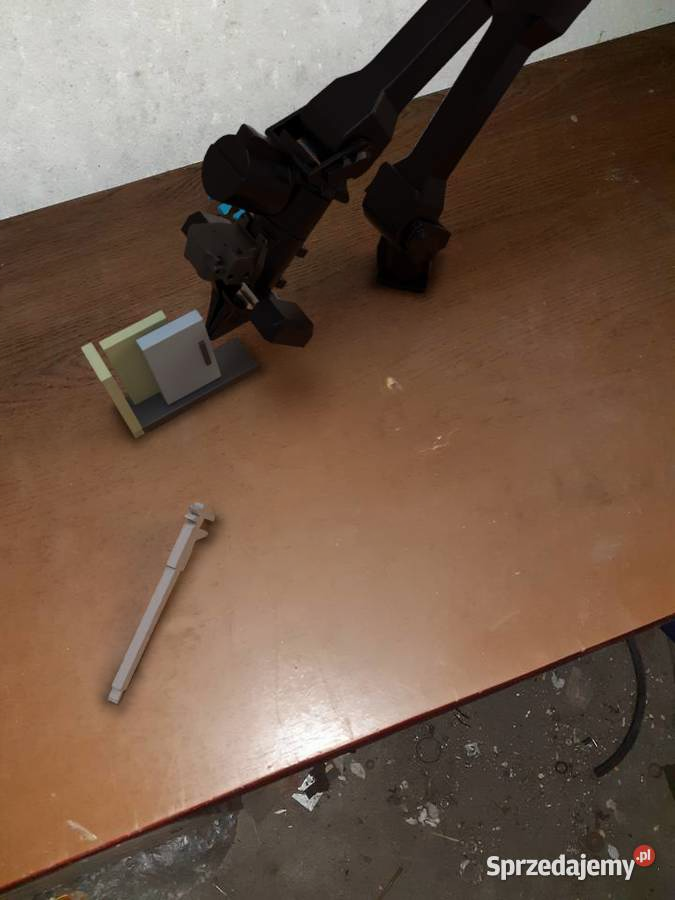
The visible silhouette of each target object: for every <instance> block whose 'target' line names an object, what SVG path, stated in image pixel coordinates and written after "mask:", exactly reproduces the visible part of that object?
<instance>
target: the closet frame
mask: <svg viewBox="0 0 675 900" xmlns="http://www.w3.org/2000/svg"><path fill="white" fill-rule="evenodd" d="M168 323H170V322H169V320H168V317H167V315H166V314H165V313H164V311H163V310H162V309H161V310H158V311H157V312H154V313H153V314H151V315H149V316H147V317H145V318H143V319H141V320H139V321H137V322H135V323H133V324H131V325H129V326H127V327H125V328H124V329H121V330H119V331H117V332H116V333H113V334H111V335H109V336H107V337H106V338H104V339H102V340H100V341H98V344H99V346H100V347H101V349H102V351H103V353H104V355H105V356H106V358H107V360H108V362H109V364H110V365H111V367H112V369H113V370H114V372H115V374H116V376H117V377H118V379H119V381H120V383H121V384H122V386H123V388H124V390H125V392H126V393H127V395H125V396H124V394H123V392H122V390H121V389H120V387H119V385H118V384H117V382H116V380H115V378H114V377H113V375H112V373H111V372H110V370H109V369H108V367H107V365H106V364H105V361H104V360H103V358H102V357H101V355H100V354H99V352H98V350H97V349H96V347H95V346H94V344H93V343H92V342H89V343H87V344H85V345H83V346H81V347H80V349H81V350H82V353H83V354H84V356H85V358H86V359H87V361H88V363H89V364H90V366H91V368H92V369H93V371H94V373H95V374H96V376H97V377H98V379H99V381H100V382H101V385H102V386H103V387H104V389H105V390H106V393H107V394H108V395H109V397H110V399H111V401H112V402H113V404H114V405H115V407H116V409H117V411H118V412H119V414H120V415H121V417H122V418H123V420H124V421H125V423H126V425H127V426H128V428H129V430H130V431H131V433H132V436H134V438H135V439H137V438H139V437H141V436H143V435H145V434H146V433H149V432H150V431H152V430H153V429H155V428H158V427H159V426H161V425H162V424H165V423H166V422H168V421H170V420H172V419H173V418H175V417H177V416H179V415H181V414H183V413H185V412H186V411H188V410H190V409H192V408H194V407H195V406H197V405H199V404H200V403H203V402H204V401H207V400H208V399H209V398H211V397H213V396H215V395H217V394H219V393H220V392H222V391H224V390H226V389H228V388H230V387H231V386H233V385H235V384H237V383H238V382H240V381H242V380H244V379H246V378H248V377H249V376H251V375H252V374H253V375H254V374H255V373H257V372H259V370H260V369H259V364H258V363H257V362H256V360H255V359H254V358H253V356H252V355H251V354H250V352H249V351H248V349H247V348H246V347H245V346H244V344H243V342H241V340H240V339H239V337H238V336H236V337H235V336H234V338H232V339H230V340H228V341H226V342H225V343H222V344H220V345H219V346H217V347H215V348H212V349H213V352H214V355H215V358H216V361H217V364H218V367H219V370H220V373H221V377H219V378H217V379H215V380H214V381H212V382H210V383H208V384H206V385H204V386H203V387H201V388H199V389H197V390H195V391H193V392H192V393H190V394H188V395H186V396H184V397H183V398H181V399H179V400H177V401H175V402H173V403H172V404H170V405H168V404H167V402H166V401H165V399H164V398H163V396H162V394H161V392H160V390H159V388H158V386H157V384H156V382H155V380H154V378H153V376H152V373H151V371H150V369H149V367H148V365H147V363H146V361H145V359H144V357H143V355H142V353H141V351H140V349H139V347H138V344H137V342H136V340H137V339H139V338H141V337H143V336H145V335H147V334H149V333H151V332H153V331H155V330H157V329H158V328H160V327H162V326H164V325H166V324H168Z"/></svg>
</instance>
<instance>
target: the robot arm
mask: <svg viewBox="0 0 675 900" xmlns="http://www.w3.org/2000/svg"><path fill="white" fill-rule="evenodd" d="M592 1H593V0H425V2H424V3H423V4H422V5H421V6H420V7H419V9H418V10H416V12H414V13H413V14H412V16H411V17H410V18H409V19H408V20H407V21H406V22H405V24H403V26H402V27H401V28H400V29H399V30H398V31H397V32H395V34H394V36H393V37H391V39H390V40H388V42H386V44H385V45H384V46H383V47H382V48H381V49H380V50H379V52H377V54H376V55H375V56H374V57H373V58H372V59H371V60H370V61H369V62H368V63H367V64H366V65H365V66H363V67H362V68H361V69H359V70H356V71H353V72H350V73H347V74H345V75H342V76H338V77H336V78H335V79H333V80H332V81H331V82H330V83H328V85H326V86H324V88H322V90H320V91H319V92H318V93H317V94H316V95H314V96H313V97H312V98H311V99H310V100H309V101H308V102H307V103H306V104H304V105H303V106H301V107H299V108H298V109H296V110H294V111H293V112H291V113H289V114H288V115H287V116H285V117H284V118H282V119H280V120H278V121H276V122H275V123H273V124H272V125H269V126H268V127H267V128H265V130H264V134H262V133H260V132H259V131H258V130H257V129H255V128H254V127H253V126H251V125H248V124H247V123H244V122H243V123H242V124H240V126H239V128H238V130H237V132H236V133H235V134H234V133H228V134H224V135H222V136H219V138H217V140H215V142H214V143H210V145H209V146H208V148H207V149H206V152H205V154H204V156H203V160H202V164H201V172H200V174H201V184H202V187H203V190H204V192H205V194H206V195H207V197H208V196H209V197H210V198H211V199H213V200H212V201H216V202H218V203H221V204H227V205H230V206H231V207H233V208H236V209H238V210H240V209H241V210H244V213H241V215H240V216H239V218H238V220H237V221H236V220H234V221H233V223H232V222H231V221H230V220H229V219H227V218H224V217H221V216H217V215H214V214H212V213H208V212H206V211H201V210H198V211H195V212H193V213H190V214H189V215H188V216H187V218H186V220H184V223H183V225H182V227H181V229H180V231H181V232H182V233H183V235H184V236H185V238H186V242H185V247H184V251H183V257H184V259H185V260H186V261H188V262H189V263H190V265H191V266H192V267H193V268H194V270H195V273H196V274H197V276H198V277H199V278H200V279H202V280H203V281H206V282H210V284H211V294H210V301H209V305H208V306H209V307H208V310H207V316H206V321H205V327H206V330H207V333H208V336H209V339H210V342H214V341H216V340H218V339H220V338H221V337H223V336H225V335H227V334H229V333H230V332H232V331H234V330H235V329H237V328H239V327H241V326H243V325H244V324H246V323H249V322H250V323H251V324H252V325H253V327H254V328H255V329H256V331H257V332H258V334H259V335H260V337H262V339H263V340H265V341H266V342H267V343H269V344H270V345H277V346H287V347H292V348H293V347H294V348H301V349H305V348H306V346H307V345H308V344H309V342H310V341H311V340H312V338H313V337H314V335H315V324H314V322H313V321H312V320H311V318H310V317H309V316H308V315H307V314H306V312H305V311H304V310H303V309H302V308H301V307H300V305H299V304H298V303H297V302H296V301H295V302H294V301H290V300H285V299H281V298H280V296H279V295H278V294H277V293H276V291H274V288H275V289H279V290H283V289H284V288H285V286H286V285H287V283H288V281H287V280H286V278H285V277H284V274H285V272H286V271H287V270H288V268H289V267H290V265H291V263H292V262H293V260H294V259H295V258H296V257H298V258H301V259H304V258H305V257H306V255H308V253H309V252H310V250H309V249H308V248H307V246H306V245H305V243H306V241H307V240H308V238H309V236H310V235H311V234H312V232H313V230H314V229H315V228H316V226H317V225H318V223H319V222H320V220H321V219H322V217H323V216H324V214H325V213H326V211H327V210H328V208H329V207H330V205H331V204H332V202H333V201H337V202H339V203H341V204H344V205H347V204H349V202H350V194H349V189H348V180H350V179H352V180H357V179H359V178H360V177H362V176H363V175H365V173H367V172H368V171H369V170H370V169H371V167H372V166H373V165H374V164H375V162H376V161H377V160H378V159H379V157H381V155H382V153H384V151H385V150H386V149H387V147H388V146H389V144H390V143H391V142H392V140H393V138H394V137H393V136H394V134H395V130H396V126H397V123H398V119H399V116H400V115H401V114H402V112H403V111H404V109H405V108H406V107H407V106H408V105H409V103H411V101H412V100H413V99H415V97H416V96H417V95H418V94H419V93H420V92H422V90H423V89H424V88H425V87H426V86H427V85H428V84H429V83H430V81H432V79H434V77H435V76H436V75H437V74H438V73H439V72H440V71H441V70H442V69H443V68H444V67H445V66H446V65H447V64H448V63H449V62H450V61H451V60H452V59H453V57H454V56H455V55H456V54H458V53H459V51H460V50H461V49H462V48H463V47H464V46H465V45H466V44H467V43H468V42H469V41H470V40H471V39H472V37H473V36H475V34H476V33H477V32H479V30H480V29H481V28H482V27H483V26H484V25H485V24H486V23H487V22H488V21H489V20H491V21H490V23H489V25H488V27H487V28H486V30H485V32H484V33H483V36H481V38H480V40H479V41H478V43H477V45H476V46H475V48H474V50H473V51H472V53H471V55H470V56H469V58H468V60H467V61H466V63H465V64H464V66H463V68H462V69H461V70H460V71H459V74H458V75H457V77H456V79H455V80H454V82H453V84H452V85H451V86H450V89H449V90H448V91H447V93H446V94H445V96H444V98H443V100H441V101H442V102H441V103H440V105H439V106H438V108H437V109H436V111H435V112H434V114H433V116H431V117H432V118H431V119H430V121H429V122H428V124H427V126H426V127H425V129H424V130H423V132H422V133H421V135H420V137H419V139H417V142H416V143H415V145H414V146H413V148H412V150H411V151H410V153H409V154H408V155H407V156H404V157H402V158H401V159H399V160H396V161H395V162H393V163H391V162H389V161H388V160H386V161H383V163H381V164H380V165H379V167H378V169H377V171H376V173H375V175H374V177H373V178H372V180H371V181H370V183H369V184H368V185H367V186H366V187H365V188H364V189H363V191H364V192H365V195H364V197H363V198H362V203H361V206H362V211H363V215H364V217H365V219H366V220H367V221H368V222H369V223H370V224H371V225H372V226H373V227H374V228H375V229H376V230H377V231H378V233H380V236H379V238H378V241H377V244H376V262H375V263H376V268H377V269H378V272H377V275H376V283H377V284H379V285H385V286H388V287H393V288H398V289H404V290H407V291H408V290H409V291H413V292H418V293H426V292H427V290H428V286H429V283H430V279H431V276H432V273H433V270H434V266H435V263H436V259H437V254H439V252H440V251H442V250H444V249H445V248H447V245H448V244H449V241H450V239H451V237H452V232H451V231H450V230H449V229H448V228H447V227H446V226H445V225H444V224H443V223H442V222H440V220H439V219H440V217H441V215H442V214H443V212H444V207H445V199H446V191H447V181H448V180H449V178H450V177H451V175H452V173H453V172H454V170H455V169H456V167H457V166H458V164H459V163H460V161H461V160H462V158H463V157H464V155H465V153H466V152H467V151H468V149H469V148H470V146H471V145H472V143H473V142H474V140H475V139H476V137H477V136H478V134H479V133H480V131H481V130H482V128H483V127H484V125H485V124H486V122H487V121H488V120H489V118H490V116H491V115H492V113H493V112H494V111H495V108H496V107H497V106H498V104H499V102H500V101H501V100H502V98H503V97H504V95H505V94H506V93H507V90H508V89H509V88H510V86H511V85H512V84H513V82H514V80H515V79H516V77H517V76H518V75H519V73H520V71H521V69H522V68H523V67H524V65H525V64H526V62H527V61H528V59H529V58H530V57H531V56H532V54H533V53H534V52H536V51H538V50H540V49H541V48H543V47H544V46H547V45H548V44H550V43H552V42H553V41H555V40H557V39H559V38H561V37H562V36H564V35H565V34H566V32H567V31H568V30H569V28H570V27H571V26H572V25H573V24H574V22H575V21H576V20H577V19H578V17H579V16H580V15H581V14H582V12H583V11H584V10H586V8H587V7H588V6H589V5H590V4H591V2H592ZM299 140H300V142H299ZM301 144H302V145H301ZM317 161H318V162H317Z"/></svg>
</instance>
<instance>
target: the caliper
mask: <svg viewBox="0 0 675 900" xmlns="http://www.w3.org/2000/svg"><path fill="white" fill-rule="evenodd" d="M188 510H189V512H188V513H185V515H184V516H183V518H185V519H187V521H186V522H184V524H183V526H182V528H181V530H180V532H179V534H178V537H177V539H176V542H175V544H174V546H173V548H172V550H171V552H170V554H169V557H168V559H167V561H166V564H165V566H166V567H165V569H164V571H163V573H162V576H161V578H160V580H159V582H158V584H157V586H156V589H155V591H154V593H153V595H152V597H151V600H150V602H149V604H148V606H147V608H146V610H145V613H143V614H144V615H143V617H142V619H141V620H140V624H139V625H138V627H137V630H136V632H135V633H134V636H133V638H132V641H131V642H130V645H129V647H128V649H127V651H126V654H125V656H124V658H123V659H122V662H121V664H120V667H119V668H118V670H117V673H116V675H115V678H114V680H113V682H112V684H111V687H112V688H111V691H110V692H109V695H108V698H107V700H108V701H110V702H112V703H114V704H116V705H118V704H119V702H120V701H121V697H122V695H123V694H124V691H126V690H127V689H128V687H129V685H130V682H131V680H132V678H133V676H134V674H135V671H136V669H137V667H138V665H139V662H140V660H141V658H142V656H143V653H144V652H145V649H146V647H147V645H148V642H149V640H150V639H151V636H152V635H153V632H154V629H155V627H156V625H157V623H158V621H159V618H160V616H161V614H162V612H163V610H164V607H165V605H166V603H167V602H168V599H169V597H170V594H171V592H172V591H173V588H174V585H175V583H176V581H177V579H178V577H179V575H180V573H181V572H184V570H185V568H186V565H187V563H188V560H189V559H190V557H191V555H192V551H193V548H194V544H195V543H196V541H198V540H201V539H204V538H206V537H208V535H209V532H208V531H206V530H205V529H203V528H201V526H202V524H203V521H204V520H208V521H210V522H213V523H214V522H215V520H216V519H215V517H216V516H215V514H214V512H213V510H212V508H211V506H209V505H206V504H203V503H200V502H198V501H194V503H193V505H192V504H188Z"/></svg>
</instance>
